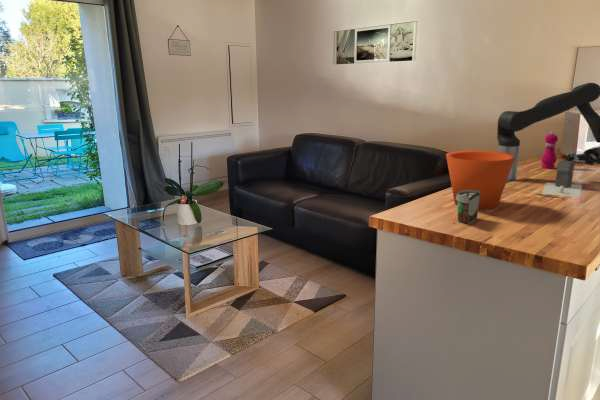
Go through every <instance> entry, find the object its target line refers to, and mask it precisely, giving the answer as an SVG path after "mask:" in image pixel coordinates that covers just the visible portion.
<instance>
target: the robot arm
mask: <svg viewBox="0 0 600 400" xmlns="http://www.w3.org/2000/svg"><path fill="white" fill-rule="evenodd" d="M599 97H600V85H599V84H597V83H595V82H586V83H583V84H581V85H577V86H575V87H573V88H572V90H571V91H567V92H563V93H560V94H555V95H552V96H549V97H547V98H544V99H542V100H539V101H538V102H537V103H536V104H535V105H534V106H533V107H531V108H529V109H525V110H522V111H512V110H506V111H503V112H502V113H500V115H499V117H498V120H497V131H496V132H497V133H496V134H497V135H496V139H497V141H498V145H497V146H498V147H497V152H503V153H508V154H512V155H514V156H515V159H514V162H513V165H512V167H511V170H510V173H509V176H508V179H507V181H506V183H511V182H514V181H515V182H516V181H517V177H518V176H517V174H518V166H519V165H518V163H519V153H520V146H521V145H520V144H521V140H520V139H519V138H518V137H517V136H516V134H515V132H519V131H522V130H524V129H526V128H528V127H530V126H531V125H533V124H536V123H539V122H542V121H544V120H547V119H550V118H553V117H555V116H557V115H560V114H562V113H564V112H566V111H567V112H568V111H569V110H570V109H573V108H575V107H576V108H577V109H578V111H579V113H580V114H581V115H582V118H583V119H584V120H585V121H586V123H587V125H588V126H589V129H590V131H591V133H592V135H593V138H594V140H595V142H597V143H599V144H600V114H599V113H597V112H596V111H595V109H594V108H593V107H592V105H591V103H593V102H595V101H597V100H598V99H599ZM566 161H570V162H577V163H580V162H581V163H584V164H585V165H587V166H594V165H598V164H599V165H600V146H598V147H592V148H588V149H586V150H584V152H582V153H575V152H574V153H570V154H567V157H566Z"/></svg>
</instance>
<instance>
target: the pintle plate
mask: <svg viewBox="0 0 600 400" xmlns="http://www.w3.org/2000/svg"><path fill="white" fill-rule="evenodd" d="M555 184H556V182H547V181H546V182H545V185H544V187H543V189H542V191H541V194H540V197H544V198H555V199H561V197H558V196H562V197H563V199H564V200H565V199H567V198H566V197H572V198H581V195H582V187H583V185H582V184H573V183H572V184H571V187H568V188H564V186H560V187H557V186H555ZM564 197H565V198H564Z"/></svg>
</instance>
